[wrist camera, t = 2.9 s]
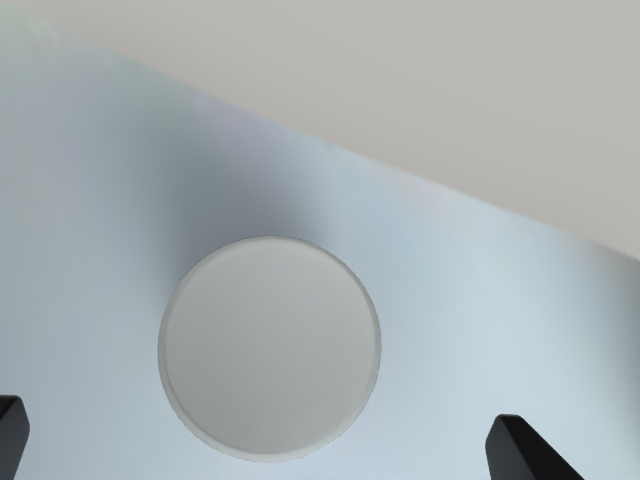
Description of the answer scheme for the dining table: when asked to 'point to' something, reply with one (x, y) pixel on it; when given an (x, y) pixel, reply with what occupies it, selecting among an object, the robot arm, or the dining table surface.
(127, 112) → the dining table surface
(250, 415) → the pill bottle
